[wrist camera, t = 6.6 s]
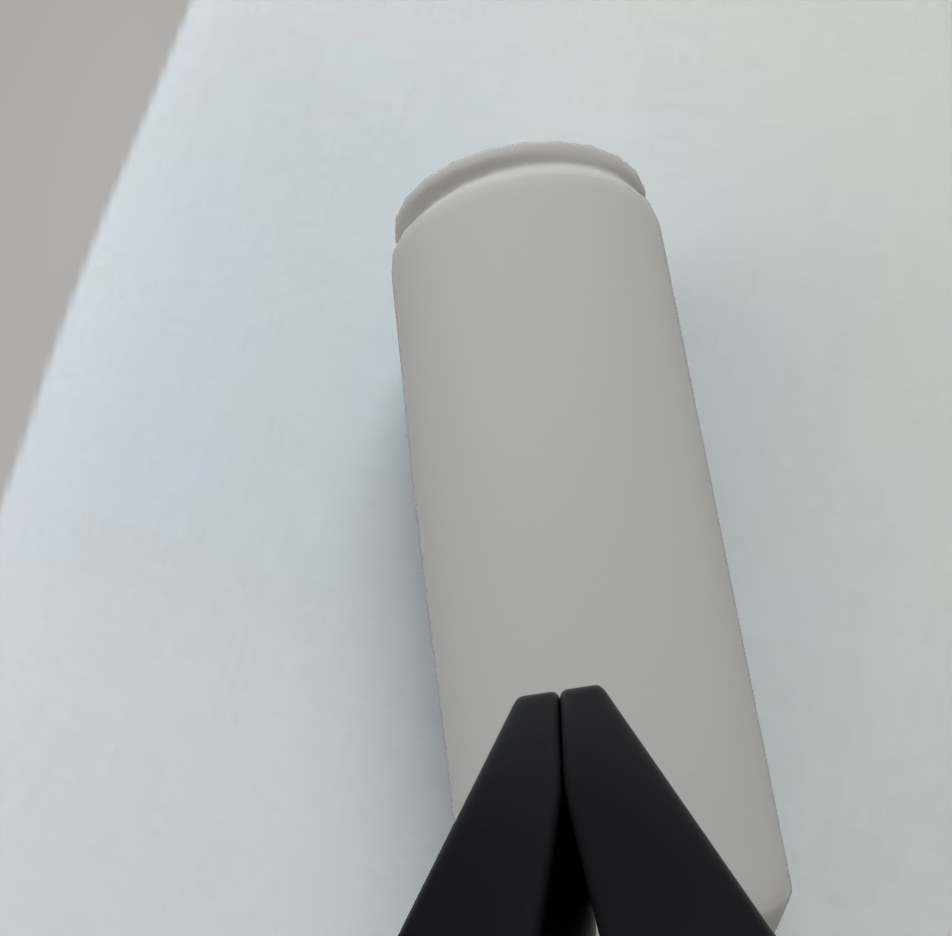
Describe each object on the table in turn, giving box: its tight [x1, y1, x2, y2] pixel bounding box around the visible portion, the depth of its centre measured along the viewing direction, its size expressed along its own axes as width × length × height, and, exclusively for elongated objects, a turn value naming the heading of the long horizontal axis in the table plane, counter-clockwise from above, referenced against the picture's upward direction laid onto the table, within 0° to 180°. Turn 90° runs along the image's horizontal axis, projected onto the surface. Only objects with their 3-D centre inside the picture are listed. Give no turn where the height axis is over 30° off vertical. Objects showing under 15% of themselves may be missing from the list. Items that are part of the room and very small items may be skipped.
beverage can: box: [392, 141, 792, 936], centre depth 15 cm, size 5×5×12 cm
